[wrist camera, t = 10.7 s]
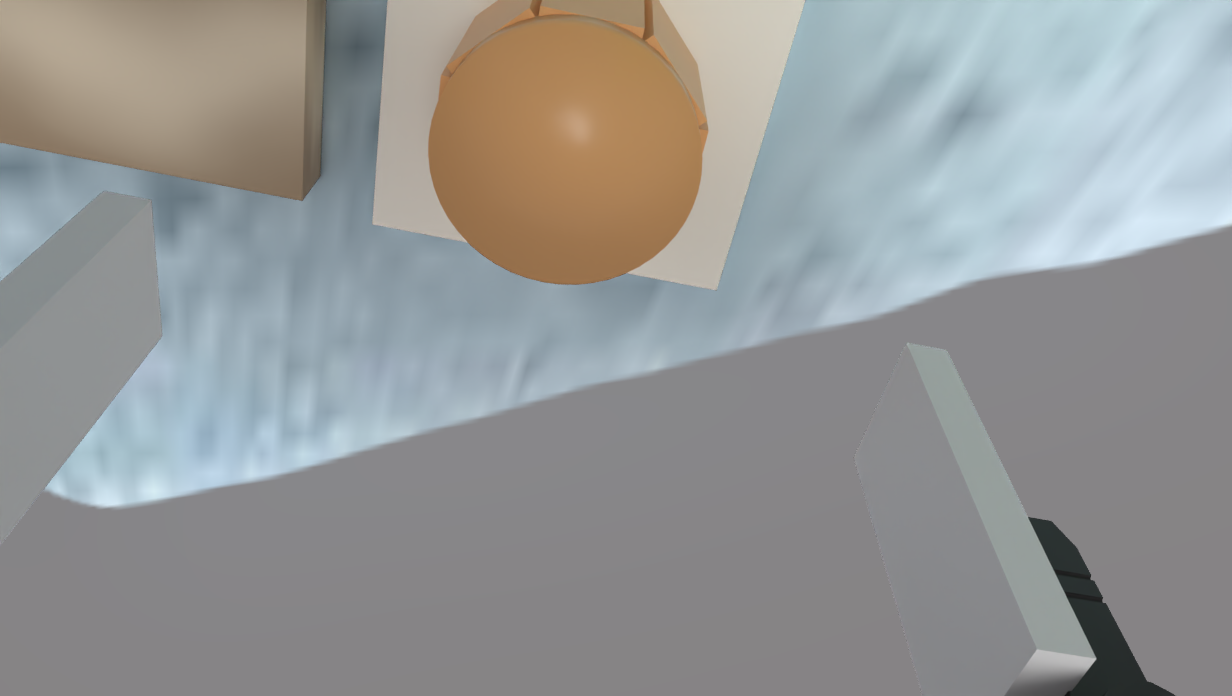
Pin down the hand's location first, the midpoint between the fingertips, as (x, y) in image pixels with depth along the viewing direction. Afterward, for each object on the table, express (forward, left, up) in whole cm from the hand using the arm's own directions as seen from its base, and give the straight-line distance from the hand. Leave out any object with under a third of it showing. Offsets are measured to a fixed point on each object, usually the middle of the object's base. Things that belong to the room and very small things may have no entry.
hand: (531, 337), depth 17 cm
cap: (0, 0, -15) cm, 15 cm away
